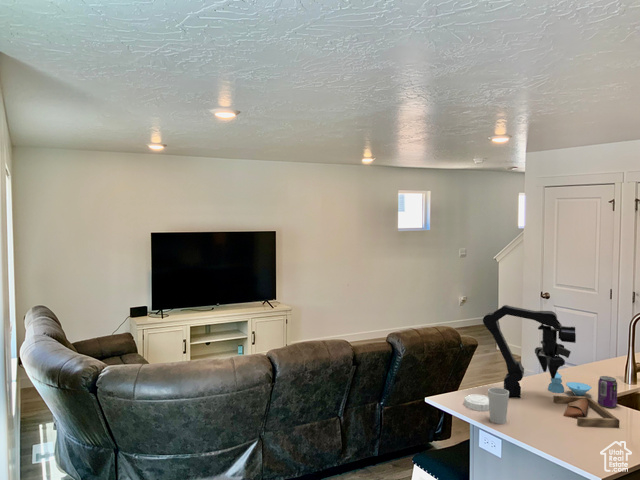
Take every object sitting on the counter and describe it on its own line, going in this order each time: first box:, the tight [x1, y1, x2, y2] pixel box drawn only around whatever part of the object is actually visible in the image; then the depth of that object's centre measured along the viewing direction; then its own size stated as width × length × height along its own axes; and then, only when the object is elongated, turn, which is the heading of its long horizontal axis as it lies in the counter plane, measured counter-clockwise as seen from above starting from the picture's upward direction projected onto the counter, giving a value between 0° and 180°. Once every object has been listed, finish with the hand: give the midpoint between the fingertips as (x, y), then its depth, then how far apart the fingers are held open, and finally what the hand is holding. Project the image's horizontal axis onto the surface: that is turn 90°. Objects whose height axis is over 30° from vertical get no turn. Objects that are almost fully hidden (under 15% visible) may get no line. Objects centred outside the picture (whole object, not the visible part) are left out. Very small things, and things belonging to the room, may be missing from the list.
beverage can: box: [597, 375, 618, 409], centre depth 206 cm, size 7×7×12 cm
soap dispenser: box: [547, 371, 593, 397], centre depth 220 cm, size 18×10×9 cm, turn 53°
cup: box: [487, 387, 509, 425], centre depth 189 cm, size 8×8×12 cm
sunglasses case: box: [562, 399, 590, 420], centre depth 199 cm, size 18×7×7 cm, turn 148°
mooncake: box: [463, 393, 489, 412], centre depth 205 cm, size 12×12×4 cm
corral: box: [552, 395, 620, 429], centre depth 196 cm, size 15×25×3 cm, turn 175°
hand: (548, 374), depth 209 cm, fingers open, 9 cm apart
